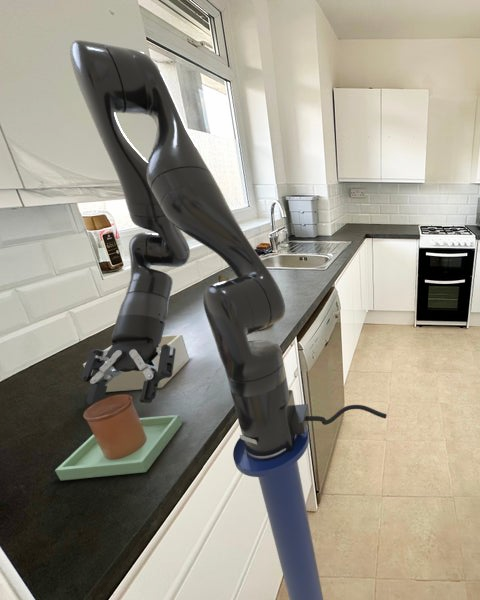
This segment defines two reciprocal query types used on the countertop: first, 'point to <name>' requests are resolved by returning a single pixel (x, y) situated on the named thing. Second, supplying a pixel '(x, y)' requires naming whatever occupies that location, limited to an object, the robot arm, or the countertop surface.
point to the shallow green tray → (94, 464)
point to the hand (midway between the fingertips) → (120, 404)
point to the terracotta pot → (116, 426)
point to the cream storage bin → (137, 378)
